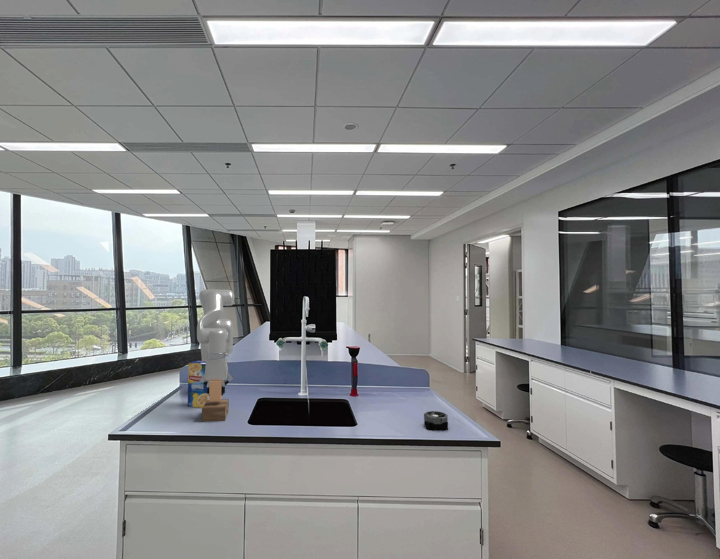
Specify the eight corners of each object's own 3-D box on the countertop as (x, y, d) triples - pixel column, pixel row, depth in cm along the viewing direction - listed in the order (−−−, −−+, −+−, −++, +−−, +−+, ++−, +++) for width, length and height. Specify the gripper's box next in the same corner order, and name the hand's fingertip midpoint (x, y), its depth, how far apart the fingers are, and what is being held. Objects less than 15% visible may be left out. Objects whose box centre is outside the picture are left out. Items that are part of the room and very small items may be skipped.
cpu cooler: (422, 410, 182) (445, 410, 182) (422, 423, 182) (445, 423, 182) (426, 417, 172) (449, 418, 171) (426, 431, 172) (449, 431, 171)
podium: (207, 412, 194) (207, 400, 194) (228, 411, 196) (228, 399, 196) (201, 421, 180) (202, 408, 180) (224, 420, 182) (225, 407, 182)
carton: (211, 397, 191) (211, 378, 191) (222, 396, 192) (222, 377, 192) (209, 401, 184) (209, 381, 184) (220, 400, 185) (220, 381, 185)
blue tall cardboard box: (207, 408, 201) (207, 364, 202) (187, 406, 203) (188, 363, 204) (214, 404, 208) (215, 361, 208) (195, 402, 210) (196, 360, 210)
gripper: (236, 354, 194) (235, 392, 193) (199, 355, 191) (198, 393, 190) (234, 357, 187) (234, 396, 186) (196, 358, 183) (195, 398, 183)
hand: (216, 394), depth 188 cm, fingers closed on carton, 5 cm apart
